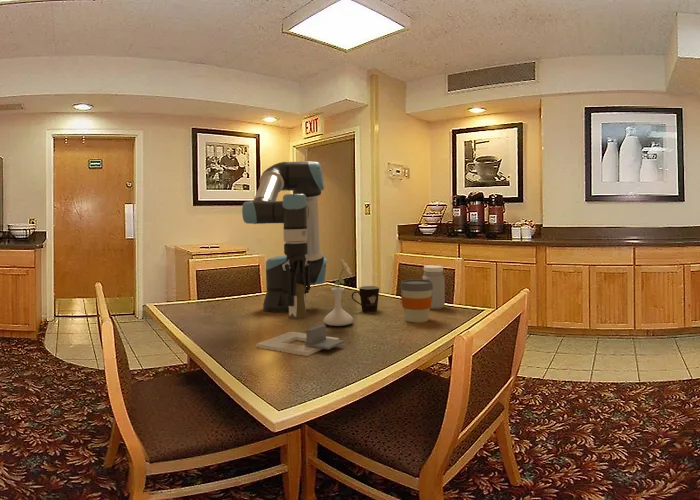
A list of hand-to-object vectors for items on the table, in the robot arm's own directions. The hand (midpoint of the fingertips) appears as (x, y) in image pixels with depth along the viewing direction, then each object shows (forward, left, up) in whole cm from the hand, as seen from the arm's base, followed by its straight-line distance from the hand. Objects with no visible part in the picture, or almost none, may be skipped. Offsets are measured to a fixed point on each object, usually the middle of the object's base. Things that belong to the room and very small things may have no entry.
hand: (297, 314), depth 163 cm
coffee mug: (-6, +56, -10) cm, 57 cm away
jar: (+17, +75, -10) cm, 77 cm away
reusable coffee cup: (+20, +50, -10) cm, 55 cm away
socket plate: (0, 0, -10) cm, 10 cm away
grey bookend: (+10, 0, -9) cm, 13 cm away
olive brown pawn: (0, 0, -1) cm, 1 cm away
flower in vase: (-3, +30, -10) cm, 32 cm away
